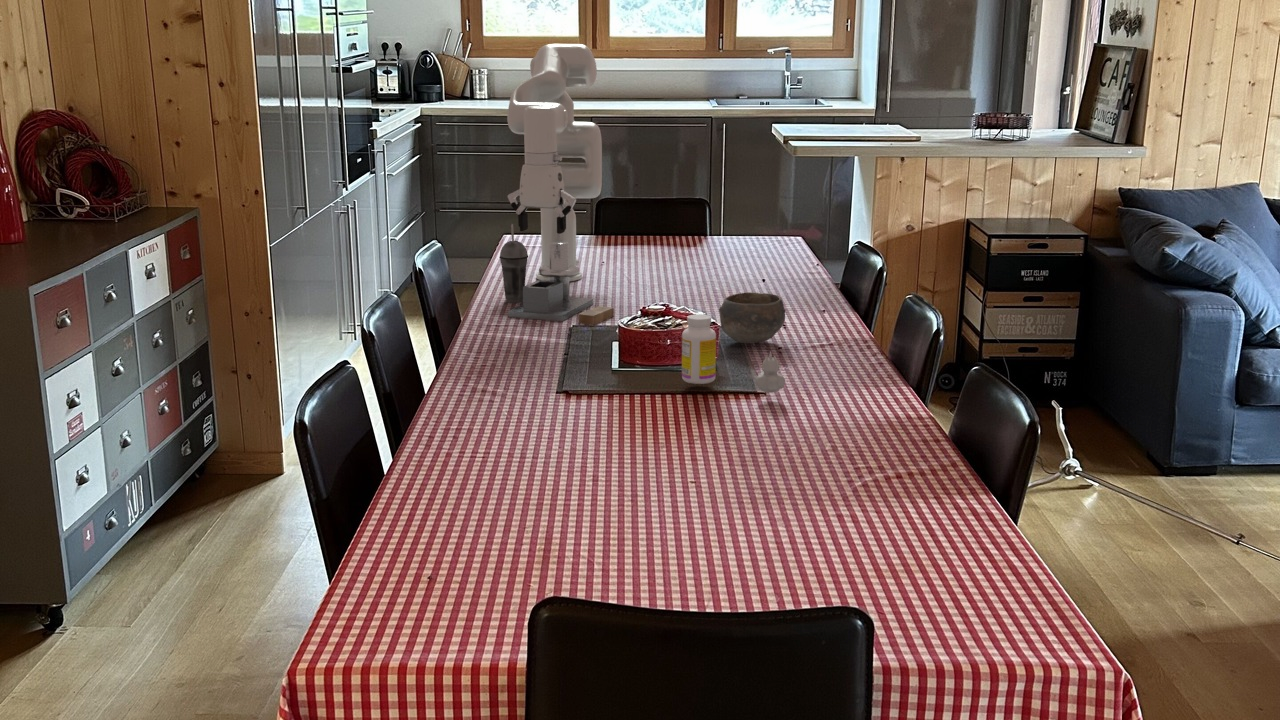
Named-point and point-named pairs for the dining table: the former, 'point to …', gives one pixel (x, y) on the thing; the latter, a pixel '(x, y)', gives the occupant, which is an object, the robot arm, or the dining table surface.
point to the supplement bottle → (698, 350)
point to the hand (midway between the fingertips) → (542, 231)
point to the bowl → (752, 316)
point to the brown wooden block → (596, 315)
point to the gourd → (770, 376)
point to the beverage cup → (513, 269)
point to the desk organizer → (552, 290)
